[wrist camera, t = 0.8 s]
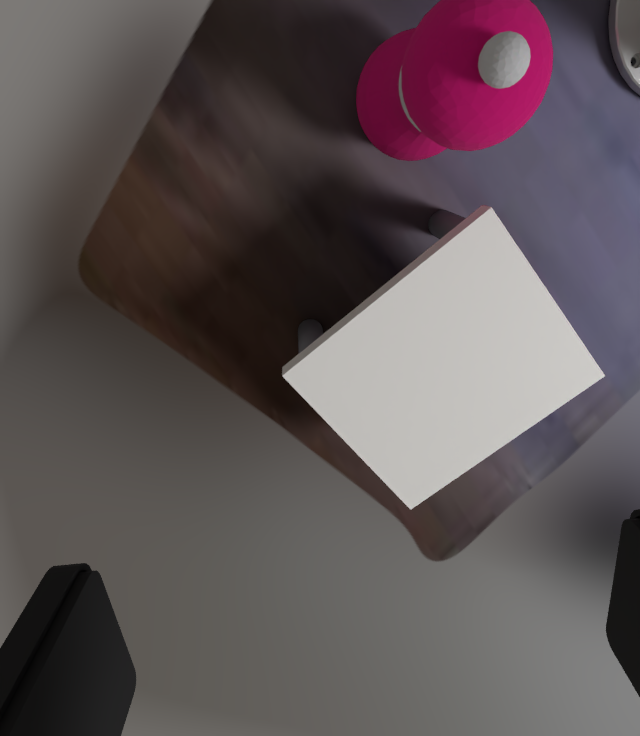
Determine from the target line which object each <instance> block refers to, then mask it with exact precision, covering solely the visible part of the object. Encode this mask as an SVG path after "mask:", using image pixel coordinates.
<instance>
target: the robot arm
mask: <svg viewBox="0 0 640 736" xmlns="http://www.w3.org/2000/svg"><path fill="white" fill-rule="evenodd" d="M608 23H609V41H610V46H611V50H612V54H613V59H614V61H615V63H616V65H617V68H618V70H619V72H620V74H621V76H622V77H623V78H624V80H625V81H626V82H627V84H628V85H629V86H630V88H631V89H633V90H634V91H635V92H636V93H637V94H639V95H640V0H611V1H610V10H609V19H608ZM631 60H632V65H631ZM606 633H607V638H608V641H609V644H610V646H611V648H612V651H613V652H614V654H615V656H616V658H617V659H618V661H619V663H620V664H621V666H622V667H623V669H624V671H625V673H626V674H627V676H628V678H629V679H630V681H631V683H632V685H633V686H634V688H635V690H636V691H637V693H638V695H639V697H640V509H639V510H634V511H633V512H632V514H631V517H630V519H627V520H624V521H623V524H622V528H621V535H620V541H619V547H618V554H617V560H616V566H615V573H614V580H613V585H612V592H611V599H610V605H609V612H608V618H607V624H606ZM135 686H136V672H135V668H134V666H133V663H132V660H131V657H130V654H129V652H128V649H127V646H126V643H125V641H124V638H123V636H122V633H121V630H120V627H119V625H118V622H117V619H116V616H115V614H114V611H113V608H112V605H111V603H110V600H109V598H108V595H107V592H106V589H105V586H104V583H103V581H102V578H101V575H100V574H99V572H98V571H92V570H91V568H90V566H89V565H87V564H85V563H81V564H71V565H61V566H53V567H51V568H50V569H49V570H48V571H47V572H46V574H45V575H44V577H43V579H42V580H41V582H40V584H39V585H38V587H37V589H36V590H35V592H34V594H33V595H32V597H31V599H30V600H29V602H28V604H27V605H26V607H25V609H24V610H23V612H22V613H21V615H20V617H19V618H18V620H17V622H16V623H15V625H14V627H13V628H12V630H11V632H10V633H9V635H8V637H7V638H6V640H5V642H4V643H3V645H2V646H1V648H0V736H121V733H122V730H123V727H124V724H125V721H126V717H127V714H128V711H129V708H130V705H131V701H132V698H133V695H134V692H135Z"/></svg>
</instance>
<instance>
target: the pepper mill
mask: <svg viewBox="0 0 640 736" xmlns="http://www.w3.org/2000/svg"><path fill="white" fill-rule="evenodd" d="M552 64H553V48H552V41H551V36H550V32H549V28H548V26H547V24H546V22H545V20H544V17H543V15H542V14H541V13H540V11H539V10H538V9H537V7H536V6H535V5H534V4H533V3H532V2H531V1H530V0H441V1H439V2H438V3H437V4H436V5H435V6H434V7H433V8H432V9H431V10H430V11H429V12H428V13H427V14H426V15H425V16H424V17H423V19H422V20H421V22H420V23H419V25H418V26H417V28H413V29H409V30H406V31H402V32H400V33H398V34H396V35H394V36H392V37H391V38H389V39H387V40H386V41H384V42H383V43H382V44H381V45H380V46H379V47H377V49H376V50H375V51H374V52H373V53H372V54H371V55H370V57H369V59H368V60H367V62H366V63H365V65H364V68H363V70H362V72H361V74H360V78H359V82H358V86H357V95H356V106H357V114H358V118H359V121H360V124H361V127H362V129H363V131H364V133H365V134H366V136H367V137H368V139H369V140H370V142H371V143H372V144H373V145H374V146H375V147H376V148H377V149H379V150H380V151H381V152H383V153H384V154H386V155H388V156H390V157H393V158H396V159H399V160H406V161H414V160H421V159H426V158H428V157H431V156H434V155H437V154H438V153H440V152H442V151H443V150H445V149H447V148H449V149H452V150H464V151H473V150H480V149H484V148H487V147H490V146H493V145H495V144H498V143H500V142H502V141H504V140H505V139H507V138H509V137H510V136H512V135H513V134H514V133H515V132H517V131H518V130H519V129H520V128H521V127H522V126H524V125H525V123H526V122H527V121H528V120H529V119H530V118H531V117H532V115H533V114H534V112H535V111H536V109H537V108H538V106H539V105H540V103H541V102H542V99H543V97H544V95H545V92H546V90H547V87H548V85H549V81H550V77H551V72H552Z"/></svg>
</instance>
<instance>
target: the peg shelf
mask: <svg viewBox="0 0 640 736" xmlns="http://www.w3.org/2000/svg"><path fill="white" fill-rule="evenodd" d="M428 227H429V231H430V232H431V233H432V234H433V235H434V236H436V237H437V238H439V239H440V240H439V241H437V242H436V243H435V244H434V245H432V246H431V247H430V248H429V249H428V250H426V251H425V252H424V253H423V254H421V255H420V256H419V257H418V258H416V259H415V260H414V261H413V262H411V263H410V264H409V265H408V266H407V267H405V268H404V269H403V270H402V271H400V272H399V273H398V274H397V275H395V276H394V277H393V278H392V279H390V280H389V281H388V282H387V283H386V284H384V285H383V286H382V287H381V288H379V289H378V290H377V291H376V292H374V293H373V294H372V295H371V296H369V297H368V298H367V299H366V300H365V301H363V302H362V303H361V304H360V305H358V306H357V307H356V308H355V309H353V310H352V311H351V312H350V313H349V314H347V315H346V316H345V317H344V318H342V319H341V320H340V321H339V322H337V323H336V324H335V325H334V326H332V327H331V328H330V329H329V330H328V331H326V332H325V333H324V334H323V329H322V326H321V324H320V323H319V322H318V321H316V320H314V319H307V320H304V321H303V322H302V323H301V324H300V325H299V327H298V348H299V354H298V355H297V356H295V357H294V358H293V359H292V360H290V361H289V362H288V363H287V364H286V365H284V366H283V367H282V376H283V377H284V379H285V380H286V381H287V382H288V383H289V384H290V385H291V386H292V387H293V388H294V389H295V390H296V391H297V392H298V393H299V394H300V395H301V396H302V397H303V398H304V399H305V400H306V401H307V402H308V403H309V404H310V406H311V407H312V408H313V409H314V410H315V411H316V412H317V413H318V414H319V415H320V416H321V417H322V418H323V419H324V420H325V421H326V422H327V423H328V424H329V425H330V426H331V427H332V428H333V429H334V430H335V432H336V433H337V434H338V435H339V436H340V437H341V438H342V439H343V440H344V441H345V442H346V443H347V444H348V445H349V446H350V447H351V448H352V449H353V450H354V451H355V452H356V453H357V454H358V455H359V456H360V458H361V459H362V460H363V461H364V462H365V463H366V464H367V465H368V466H369V467H370V468H371V469H372V470H373V471H374V472H375V473H376V474H377V475H378V476H379V477H380V478H381V479H382V480H383V481H384V482H385V484H386V485H387V486H388V487H389V488H390V489H391V490H392V491H393V492H394V493H395V494H396V495H397V496H398V497H399V498H400V499H401V500H402V501H403V502H404V503H405V504H406V505H407V506H408V507H409V508H410V509H412V508H414V507H415V506H417V505H418V504H420V503H421V502H422V501H424V500H425V499H427V498H428V497H430V496H431V495H433V494H434V493H436V492H437V491H438V490H440V489H441V488H443V487H444V486H446V485H447V484H449V483H450V482H452V481H453V480H454V479H456V478H457V477H459V476H460V475H462V474H463V473H465V472H466V471H468V470H469V469H470V468H472V467H473V466H475V465H476V464H478V463H479V462H481V461H482V460H484V459H485V458H486V457H488V456H489V455H491V454H492V453H494V452H495V451H497V450H498V449H500V448H501V447H502V446H504V445H505V444H507V443H508V442H510V441H511V440H513V439H514V438H516V437H517V436H518V435H520V434H521V433H523V432H524V431H526V430H527V429H529V428H530V427H532V426H533V425H535V424H536V423H537V422H539V421H540V420H542V419H543V418H545V417H546V416H548V415H549V414H551V413H552V412H553V411H555V410H556V409H558V408H559V407H561V406H562V405H564V404H565V403H567V402H568V401H569V400H571V399H572V398H574V397H575V396H577V395H578V394H580V393H581V392H583V391H584V390H585V389H587V388H588V387H590V386H591V385H593V384H594V383H596V382H597V381H599V380H600V379H601V378H603V377H604V376H605V375H604V374H603V372H602V371H601V369H600V368H599V366H598V365H597V363H596V362H595V360H594V359H593V357H592V356H591V354H590V353H589V351H588V350H587V348H586V347H585V345H584V344H583V342H582V341H581V339H580V338H579V336H578V335H577V333H576V332H575V331H574V329H573V328H572V326H571V325H570V323H569V322H568V320H567V319H566V317H565V316H564V314H563V313H562V311H561V310H560V308H559V307H558V305H557V304H556V302H555V301H554V299H553V298H552V296H551V295H550V293H549V292H548V290H547V289H546V288H545V286H544V285H543V283H542V282H541V280H540V279H539V277H538V276H537V274H536V273H535V271H534V270H533V268H532V267H531V265H530V264H529V262H528V261H527V259H526V258H525V256H524V255H523V253H522V252H521V250H520V249H519V247H518V246H517V244H516V243H515V242H514V240H513V239H512V237H511V236H510V234H509V233H508V231H507V230H506V228H505V227H504V225H503V224H502V222H501V221H500V219H499V218H498V216H497V215H496V213H495V212H494V210H493V209H492V207H489V206H485V205H482V206H481V207H479V208H478V209H477V210H476V211H474V212H473V213H472V214H471V215H469V216H468V217H467V218H464V217H461V216H459V215H456V214H454V213H451V212H449V211H446V210H439V211H437V212H435V213H434V214H433V215H432V216H431V217H430V219H429V222H428Z"/></svg>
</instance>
